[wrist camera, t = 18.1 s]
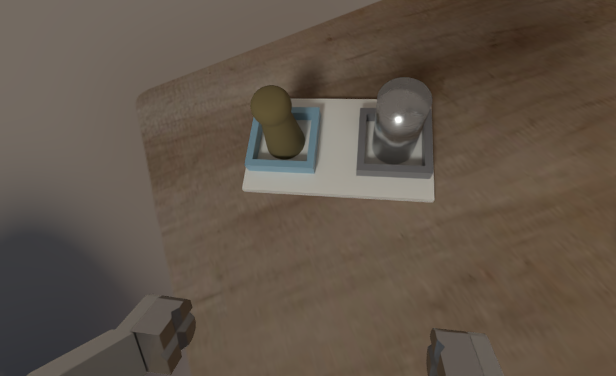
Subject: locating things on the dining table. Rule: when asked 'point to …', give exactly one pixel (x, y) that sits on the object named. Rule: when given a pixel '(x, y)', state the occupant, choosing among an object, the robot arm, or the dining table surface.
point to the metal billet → (399, 119)
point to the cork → (277, 122)
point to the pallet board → (340, 157)
